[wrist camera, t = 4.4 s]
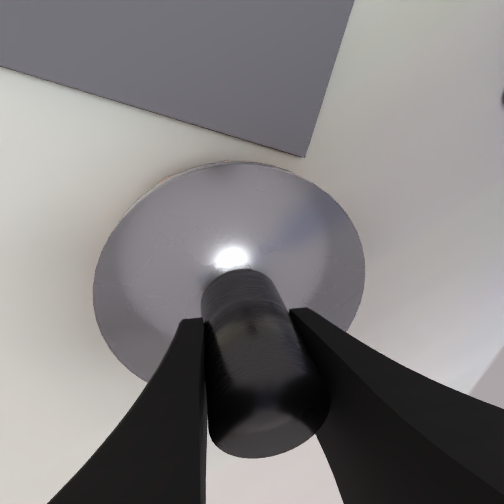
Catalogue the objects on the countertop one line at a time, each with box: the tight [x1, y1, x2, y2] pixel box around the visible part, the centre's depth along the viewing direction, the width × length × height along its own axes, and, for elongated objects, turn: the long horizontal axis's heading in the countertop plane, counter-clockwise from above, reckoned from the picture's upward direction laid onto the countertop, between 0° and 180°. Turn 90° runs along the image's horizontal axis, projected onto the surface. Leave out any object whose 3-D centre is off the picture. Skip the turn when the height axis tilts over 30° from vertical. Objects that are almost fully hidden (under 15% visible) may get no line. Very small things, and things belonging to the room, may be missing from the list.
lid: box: [93, 161, 365, 458], centre depth 9 cm, size 10×10×5 cm
